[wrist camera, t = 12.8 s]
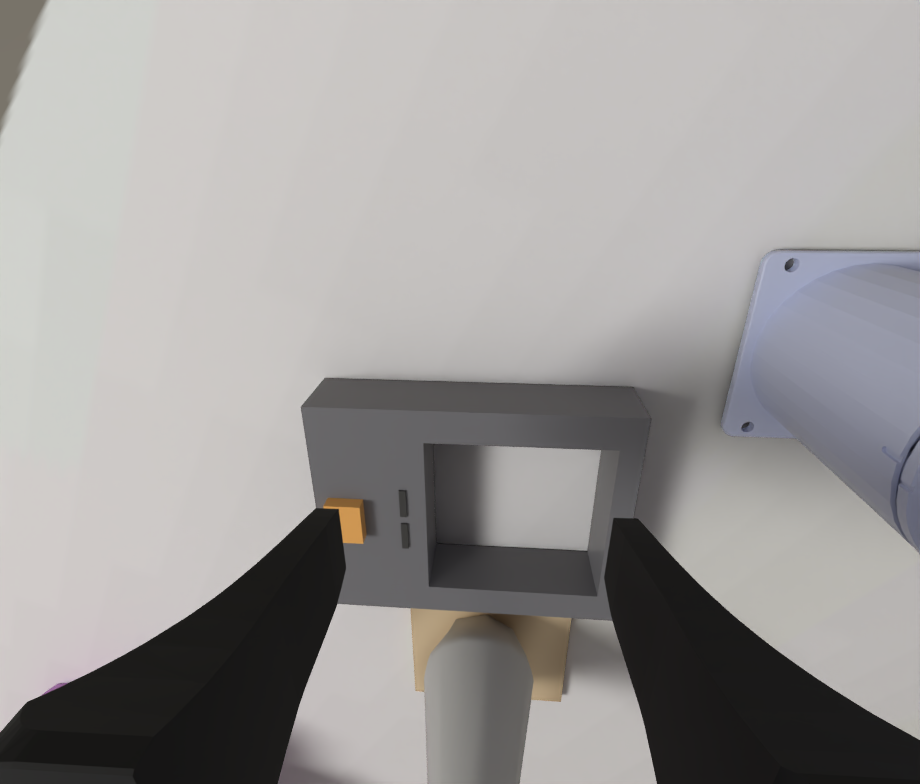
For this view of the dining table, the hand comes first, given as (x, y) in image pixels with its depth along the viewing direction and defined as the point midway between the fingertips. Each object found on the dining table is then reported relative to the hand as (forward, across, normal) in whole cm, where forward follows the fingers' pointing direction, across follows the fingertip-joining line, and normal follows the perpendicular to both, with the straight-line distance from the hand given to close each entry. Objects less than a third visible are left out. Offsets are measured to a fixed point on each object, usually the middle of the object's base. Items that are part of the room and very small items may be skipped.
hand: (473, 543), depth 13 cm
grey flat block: (+10, 0, +5) cm, 12 cm away
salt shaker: (+10, 0, +16) cm, 19 cm away
